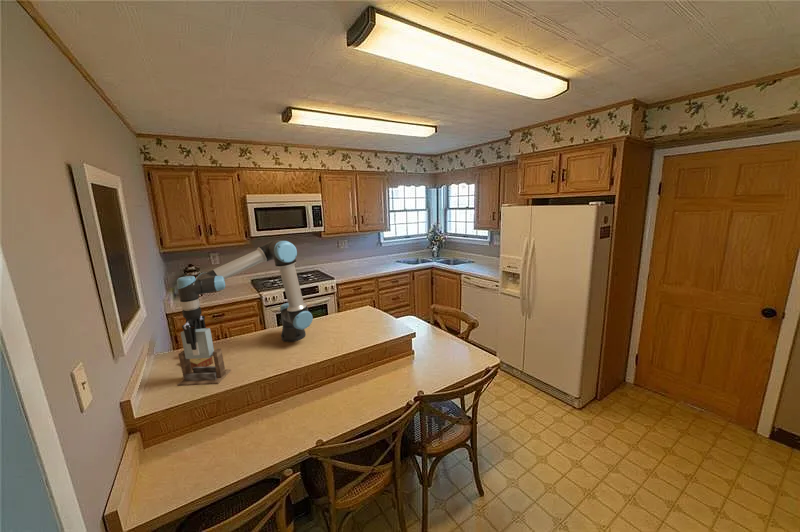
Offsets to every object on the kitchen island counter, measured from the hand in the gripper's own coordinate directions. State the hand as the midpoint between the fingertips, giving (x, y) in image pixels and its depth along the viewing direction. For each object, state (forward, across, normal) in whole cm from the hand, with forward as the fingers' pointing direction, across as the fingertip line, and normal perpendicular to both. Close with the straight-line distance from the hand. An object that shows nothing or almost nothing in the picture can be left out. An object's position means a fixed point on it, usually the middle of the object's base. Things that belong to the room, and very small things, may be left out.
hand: (199, 352), depth 153 cm
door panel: (+2, 0, 0) cm, 2 cm away
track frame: (+14, 0, 0) cm, 14 cm away
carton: (+15, -15, -14) cm, 25 cm away
